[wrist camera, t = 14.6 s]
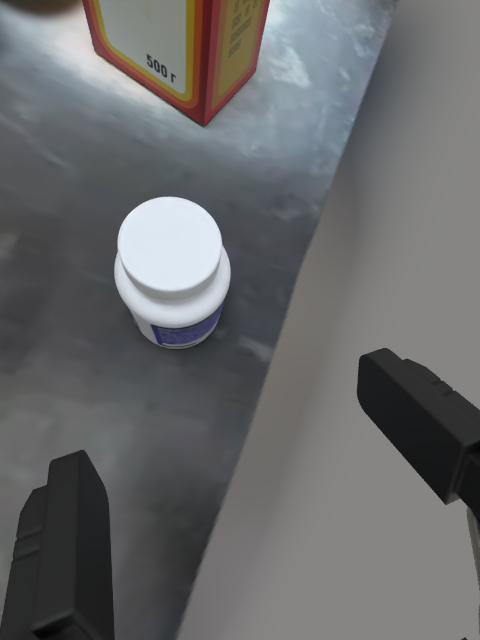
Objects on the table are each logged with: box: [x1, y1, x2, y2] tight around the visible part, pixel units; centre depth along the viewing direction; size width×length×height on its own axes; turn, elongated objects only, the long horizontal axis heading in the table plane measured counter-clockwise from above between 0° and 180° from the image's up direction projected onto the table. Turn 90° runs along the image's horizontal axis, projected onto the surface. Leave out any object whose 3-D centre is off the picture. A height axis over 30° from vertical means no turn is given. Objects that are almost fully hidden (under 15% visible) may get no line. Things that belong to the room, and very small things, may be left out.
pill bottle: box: [114, 197, 230, 349], centre depth 18 cm, size 5×5×9 cm
